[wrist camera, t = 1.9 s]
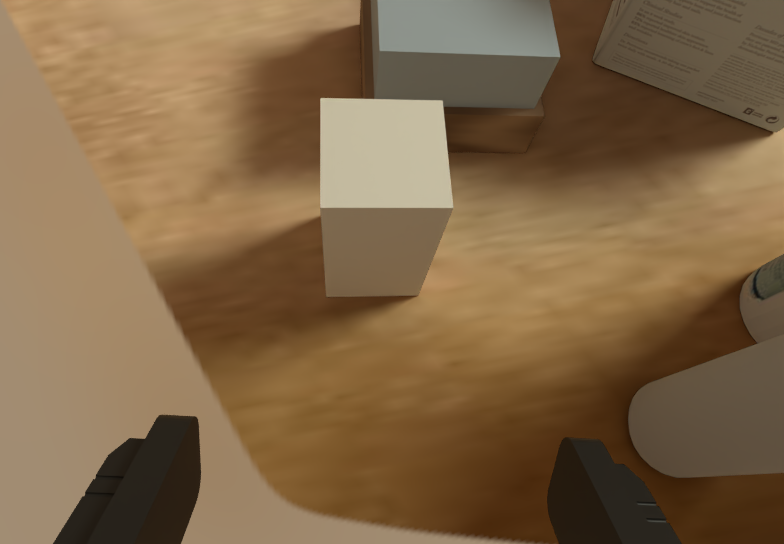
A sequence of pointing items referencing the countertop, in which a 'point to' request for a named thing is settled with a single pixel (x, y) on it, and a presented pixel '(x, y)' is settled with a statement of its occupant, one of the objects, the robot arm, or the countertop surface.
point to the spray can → (764, 301)
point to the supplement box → (703, 52)
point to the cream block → (382, 193)
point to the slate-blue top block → (463, 51)
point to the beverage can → (715, 416)
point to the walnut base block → (464, 111)
